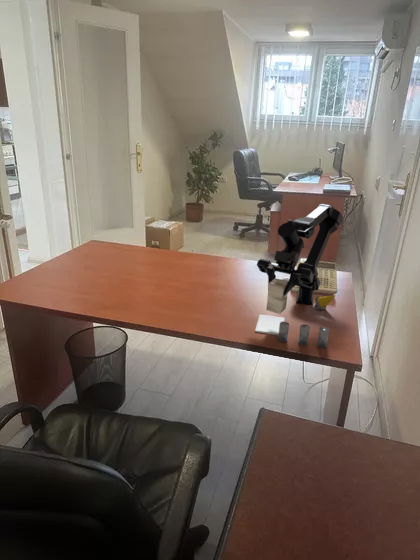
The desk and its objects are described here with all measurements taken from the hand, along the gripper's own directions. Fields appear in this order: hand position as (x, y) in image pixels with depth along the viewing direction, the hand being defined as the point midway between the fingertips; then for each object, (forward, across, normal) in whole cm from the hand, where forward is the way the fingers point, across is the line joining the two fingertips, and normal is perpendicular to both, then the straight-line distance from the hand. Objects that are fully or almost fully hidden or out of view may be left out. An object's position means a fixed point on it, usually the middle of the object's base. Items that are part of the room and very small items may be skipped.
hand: (276, 293), depth 132 cm
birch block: (+4, 0, +6) cm, 7 cm away
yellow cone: (-8, +10, +28) cm, 30 cm away
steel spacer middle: (+12, +12, +7) cm, 18 cm away
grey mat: (+8, -2, +11) cm, 14 cm away
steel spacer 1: (+13, +6, +6) cm, 16 cm away
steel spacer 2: (+11, +18, +9) cm, 22 cm away
